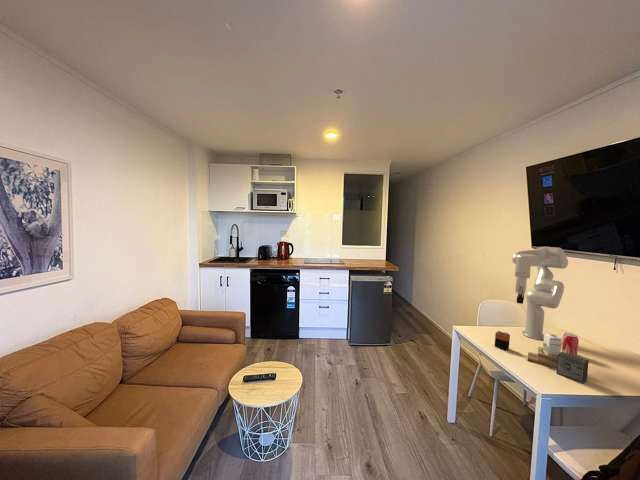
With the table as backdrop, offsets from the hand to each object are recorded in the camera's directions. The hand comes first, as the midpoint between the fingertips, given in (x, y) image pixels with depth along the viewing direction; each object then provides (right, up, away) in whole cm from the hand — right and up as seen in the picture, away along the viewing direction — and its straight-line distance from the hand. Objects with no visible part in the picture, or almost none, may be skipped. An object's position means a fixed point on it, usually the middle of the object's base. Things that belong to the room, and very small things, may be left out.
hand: (520, 301), depth 169 cm
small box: (+2, -31, -33) cm, 45 cm away
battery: (-13, -28, -2) cm, 31 cm away
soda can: (+23, -30, -8) cm, 39 cm away
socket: (+2, -30, -20) cm, 36 cm away
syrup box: (+2, -29, -20) cm, 35 cm away
